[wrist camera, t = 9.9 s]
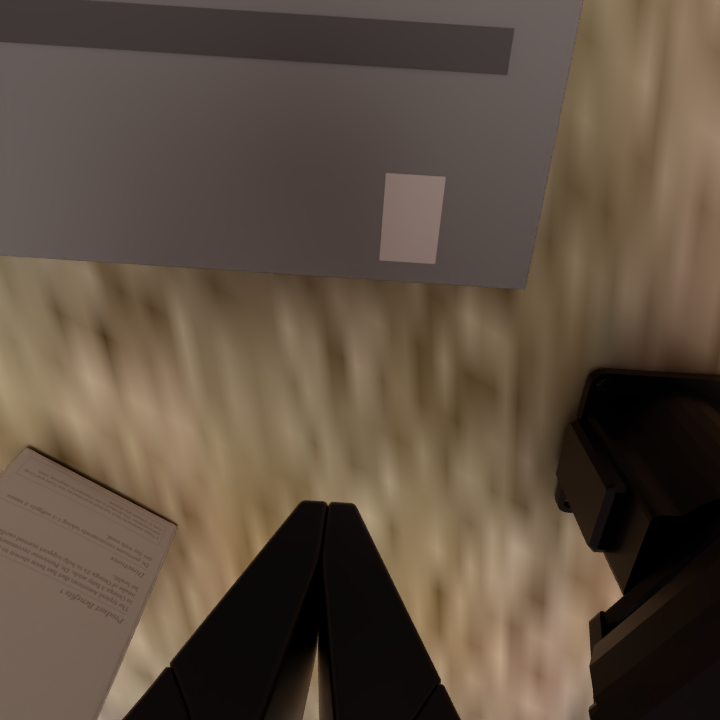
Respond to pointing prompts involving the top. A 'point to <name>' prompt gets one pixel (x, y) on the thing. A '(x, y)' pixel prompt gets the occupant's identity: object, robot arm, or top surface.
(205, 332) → the top surface
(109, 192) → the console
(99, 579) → the supplement box
